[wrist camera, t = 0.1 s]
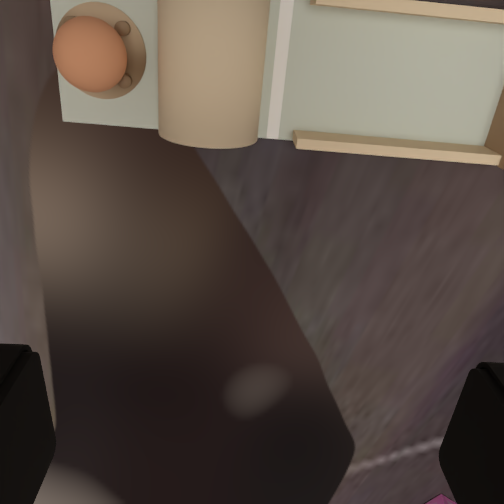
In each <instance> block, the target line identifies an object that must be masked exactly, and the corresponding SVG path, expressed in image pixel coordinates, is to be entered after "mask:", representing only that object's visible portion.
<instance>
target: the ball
mask: <svg viewBox="0 0 504 504" xmlns="http://www.w3.org/2000/svg"><path fill="white" fill-rule="evenodd" d="M53 57H54V61H55V64H56V66H57V68H58V70H59V72H60V73H61V75H62V76H63V77H64V78H65V79H66V80H67V81H68V82H69V83H70V84H71V85H73V86H74V87H76V88H78V89H80V90H83V91H87V92H103V91H106V90H109V89H111V88H112V87H114V86H115V85H116V84H118V82H119V81H120V80H121V79H122V77H123V75H124V73H125V70H126V66H127V52H126V48H125V45H124V42H123V40H122V38H121V37H120V35H119V34H118V33H117V31H116V30H115V29H114V28H113V27H112V26H111V25H109V24H108V23H107V22H105V21H103V20H101V19H99V18H96V17H92V16H78V17H74V18H72V19H70V20H68V21H66V22H65V23H64V24H63V25H62V26H61V27H60V28H59V29H58V31H57V33H56V35H55V37H54V41H53Z"/></svg>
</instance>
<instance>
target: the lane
mask: <svg viewBox="0 0 504 504" xmlns="http://www.w3.org/2000/svg"><path fill="white" fill-rule="evenodd" d="M85 2H101V3H106V4H109V5H112V6H114V7H116V8H118V9H119V10H121V11H123V12H124V13H125V14H126V15H127V16H128V17H129V18H130V19H131V20H132V21H133V22H134V23H135V25H136V26H137V28H138V29H139V31H140V33H141V35H142V38H143V41H144V44H145V49H146V66H145V71H144V74H143V76H142V78H141V80H140V82H139V83H138V85H137V86H136V87H135V88H134V89H133V90H132V91H130V92H129V93H127V94H126V95H124V96H121V97H119V98H115V99H100V98H95V97H92V96H90V95H87V94H85V93H84V92H82V91H80V90H79V89H78V88H76V87H74V86H73V85H71V84H70V83H69V82H68V81H67V80H66V79H65V78H64V77H63V76H62V75H61V73H60V72H59V70H58V68H57V70H58V79H59V89H60V99H61V108H62V117H63V121H65V122H78V123H90V124H101V125H113V126H125V127H137V128H149V129H159V135H160V136H161V137H162V138H164V139H165V140H168V141H170V142H173V143H177V144H181V145H186V146H192V147H200V148H212V149H229V148H240V147H246V146H250V145H252V144H254V143H256V142H257V138H269V139H280V140H292V141H293V142H294V145H295V147H296V149H306V150H318V151H330V152H343V153H355V154H367V155H379V156H391V157H403V158H415V159H427V160H439V161H451V162H463V163H476V164H488V165H496V166H498V167H500V168H501V169H503V170H504V10H501V9H492V8H482V7H472V6H463V5H453V4H444V3H434V2H424V1H415V0H50V4H51V14H52V23H53V32H54V37H55V35H56V30H57V27H58V25H59V23H60V21H61V19H62V18H63V16H64V15H65V14H66V13H67V12H68V11H69V10H70V9H72V8H73V7H75V6H77V5H79V4H82V3H85Z"/></svg>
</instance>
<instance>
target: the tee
mask: <svg viewBox="0 0 504 504" xmlns="http://www.w3.org/2000/svg"><path fill="white" fill-rule="evenodd" d="M78 16H92V17H96V18H99V19H101V20H103V21H105V22H107V23H108V24H109V25H111V26H112V27H113V28H114V29H115V30H116V31H117V33H118V34H119V35H120V37H121V38H122V40H123V42H124V45H125V48H126V52H127V66H126V70H125V73H124V75H123V77H122V79H121V80H120V81H119V82H118V84H116V85H115V86H114V87H112V88H111V89H109V90H106V91H103V92H87V91H83V90H80V89H79V90H80V91H82V92H84V93H85V94H87V95H90V96H92V97H95V98H100V99H115V98H119V97H121V96H124V95H126V94H127V93H129V92H130V91H132V90H133V89H134V88H135V87H136V86H137V85H138V83H139V82H140V80H141V78H142V76H143V74H144V71H145V66H146V49H145V44H144V41H143V38H142V35H141V33H140V31H139V29H138V28H137V26H136V25H135V23H134V22H133V21H132V20H131V19H130V18H129V17H128V16H127V15H126V14H125V13H124V12H123V11H121V10H119V9H118V8H116V7H114V6H112V5H109V4H106V3H101V2H85V3H82V4H79V5H77V6H75V7H73V8H72V9H70V10H69V11H68V12H67V13H66V14H65V15H64V16H63V18H62V19H61V21H60V23H59V25H58V27H57V30H56V33H57V31H58V29H59V28H60V27H61V26H62V25H63V24H64V23H65V22H66V21H68V20H70V19H72V18H74V17H78Z"/></svg>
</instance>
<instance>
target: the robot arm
mask: <svg viewBox="0 0 504 504" xmlns="http://www.w3.org/2000/svg"><path fill="white" fill-rule="evenodd" d="M55 447H56V437H55V432H54V427H53V422H52V417H51V412H50V407H49V401H48V396H47V391H46V386H45V381H44V376H43V371H42V366H41V360H40V356H39V354H38V353H37V352H32V350H31V347H30V346H29V345H23V344H0V504H33V503H34V501H35V498H36V496H37V494H38V491H39V489H40V487H41V484H42V482H43V480H44V477H45V475H46V473H47V470H48V468H49V465H50V463H51V461H52V459H53V456H54V452H55ZM439 462H440V466H441V469H442V471H443V473H444V475H445V478H446V480H447V482H448V484H449V487H450V489H451V491H452V493H453V496H454V498H455V500H456V502H457V504H504V363H493V362H481V363H479V364H478V365H477V367H476V369H471V370H470V372H469V374H468V376H467V379H466V382H465V384H464V387H463V389H462V392H461V395H460V397H459V400H458V403H457V405H456V408H455V410H454V413H453V416H452V418H451V421H450V424H449V426H448V429H447V431H446V434H445V437H444V439H443V442H442V444H441V447H440V450H439Z"/></svg>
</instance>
